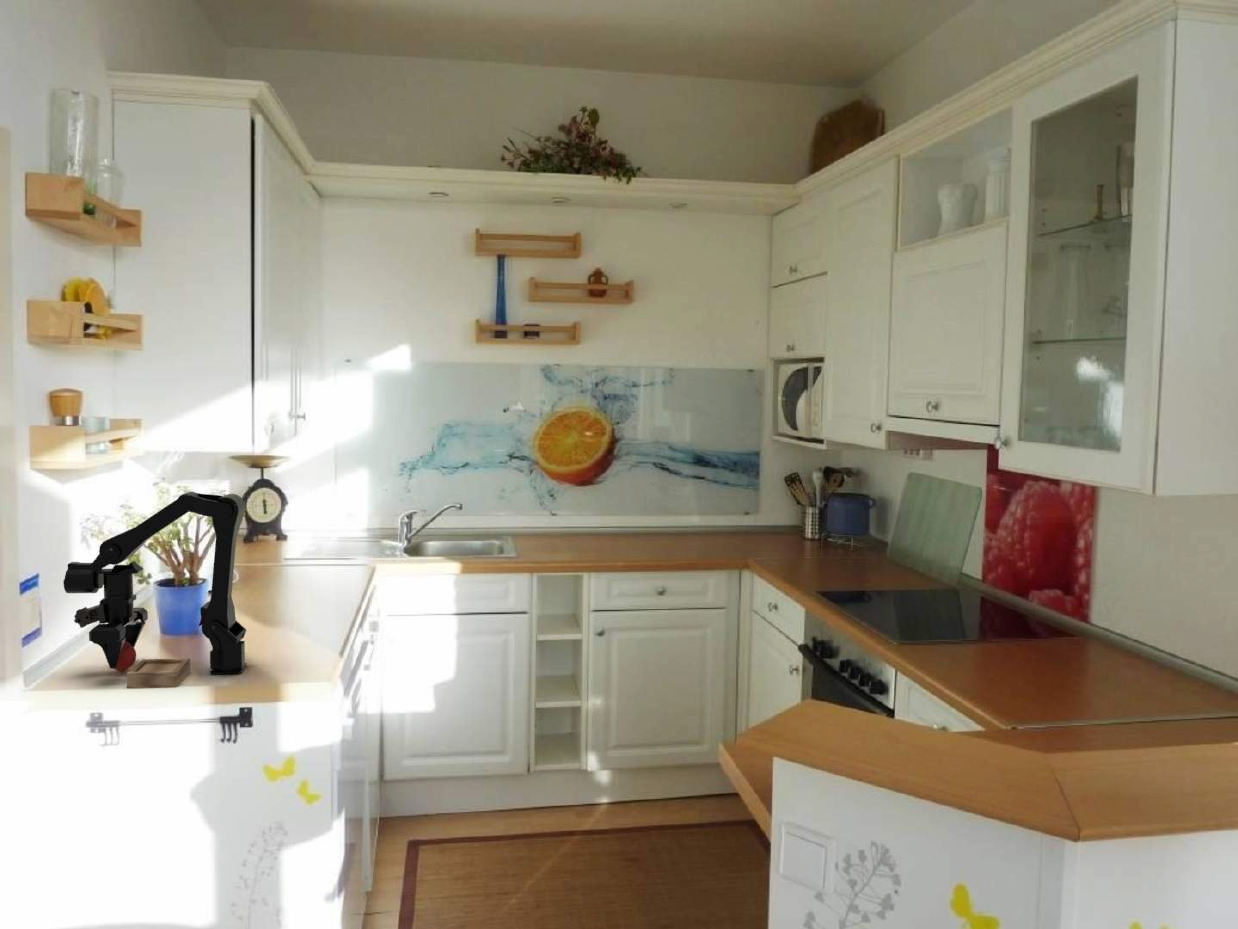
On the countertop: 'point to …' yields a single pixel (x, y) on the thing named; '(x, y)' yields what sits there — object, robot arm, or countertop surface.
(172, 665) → the brown wooden tray
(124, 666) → the onion
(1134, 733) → the countertop surface
